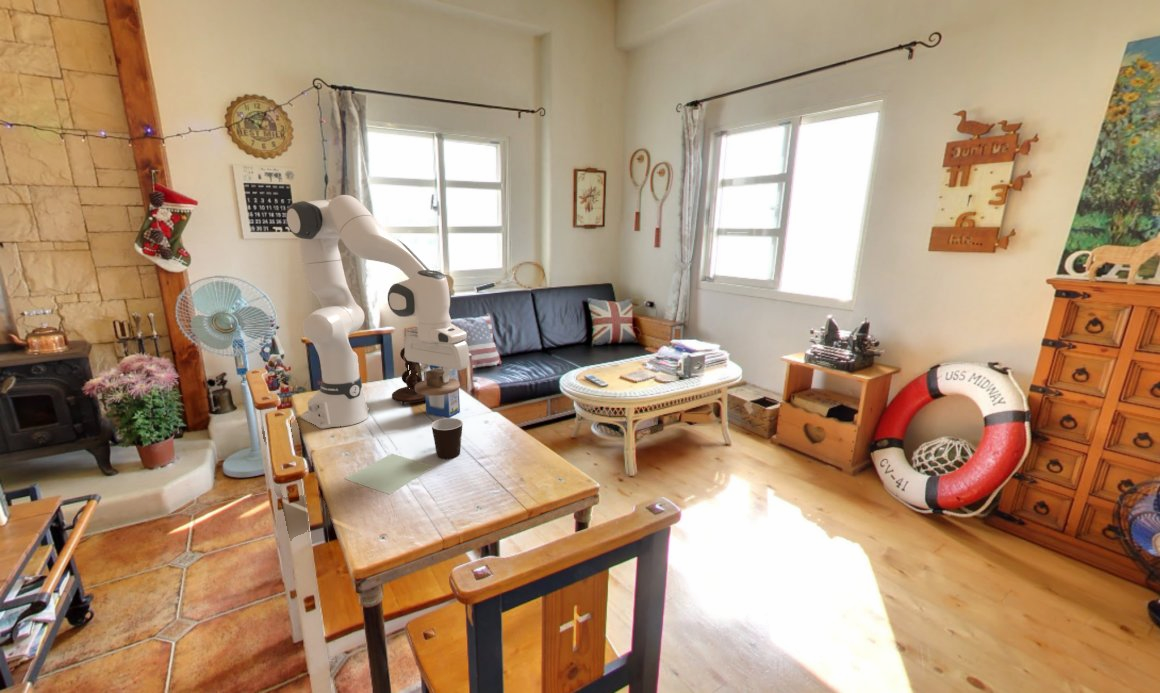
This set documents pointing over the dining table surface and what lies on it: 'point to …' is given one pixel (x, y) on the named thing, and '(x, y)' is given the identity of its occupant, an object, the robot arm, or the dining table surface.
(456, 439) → the coffee mug
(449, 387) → the lid
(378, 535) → the dining table surface
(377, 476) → the mat
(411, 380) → the dark brown tall piece
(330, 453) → the dining table surface
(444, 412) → the milk carton
